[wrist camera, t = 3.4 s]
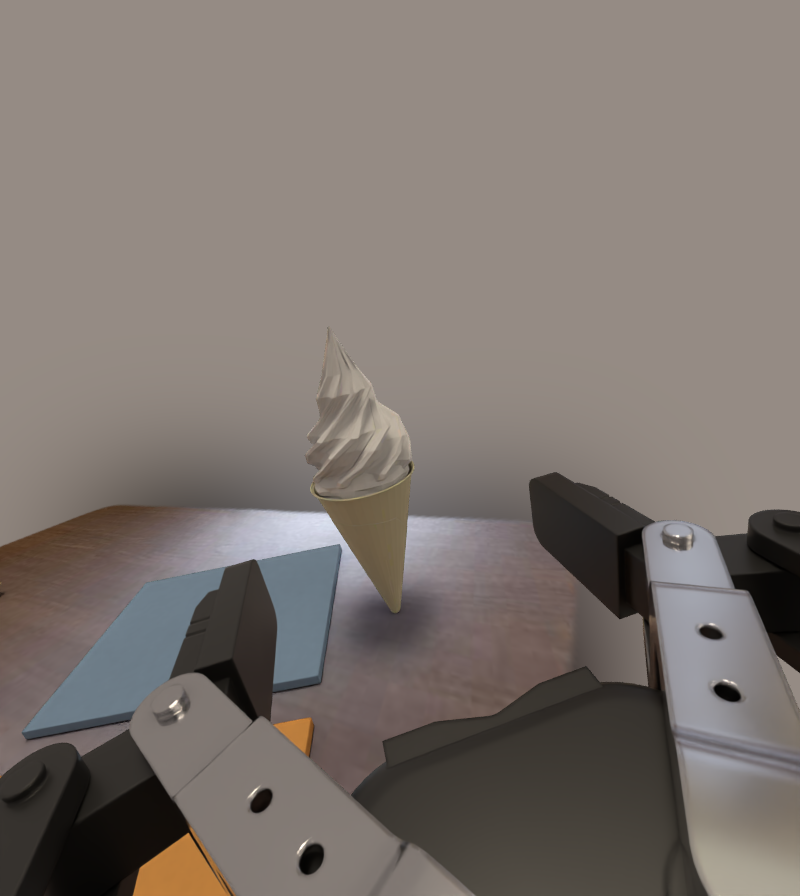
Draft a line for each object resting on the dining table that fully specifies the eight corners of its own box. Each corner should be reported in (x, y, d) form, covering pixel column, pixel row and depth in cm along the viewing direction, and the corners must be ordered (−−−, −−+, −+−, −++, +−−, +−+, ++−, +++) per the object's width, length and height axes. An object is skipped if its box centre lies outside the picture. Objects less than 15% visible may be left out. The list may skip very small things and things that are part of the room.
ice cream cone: (462, 601, 22) (408, 309, 17) (391, 664, 19) (303, 334, 14) (399, 569, 26) (341, 321, 21) (332, 617, 23) (246, 342, 18)
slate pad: (341, 549, 30) (339, 543, 29) (320, 683, 19) (317, 675, 19) (148, 588, 30) (146, 582, 30) (25, 739, 20) (20, 732, 19)
